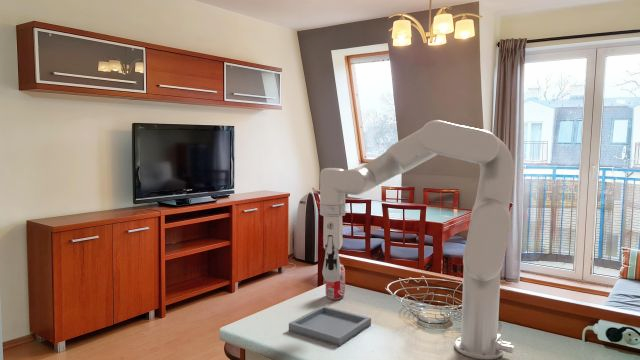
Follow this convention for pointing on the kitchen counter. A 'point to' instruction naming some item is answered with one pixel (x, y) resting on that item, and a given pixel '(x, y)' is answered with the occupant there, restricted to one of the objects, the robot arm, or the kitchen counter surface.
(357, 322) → the tray
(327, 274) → the salt shaker
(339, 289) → the soda can
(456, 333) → the kitchen counter surface
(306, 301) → the kitchen counter surface
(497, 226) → the robot arm
